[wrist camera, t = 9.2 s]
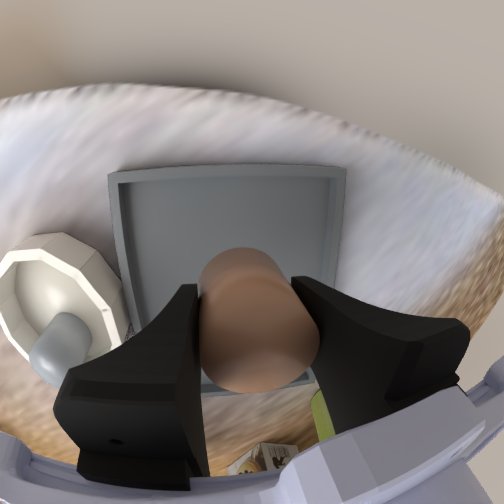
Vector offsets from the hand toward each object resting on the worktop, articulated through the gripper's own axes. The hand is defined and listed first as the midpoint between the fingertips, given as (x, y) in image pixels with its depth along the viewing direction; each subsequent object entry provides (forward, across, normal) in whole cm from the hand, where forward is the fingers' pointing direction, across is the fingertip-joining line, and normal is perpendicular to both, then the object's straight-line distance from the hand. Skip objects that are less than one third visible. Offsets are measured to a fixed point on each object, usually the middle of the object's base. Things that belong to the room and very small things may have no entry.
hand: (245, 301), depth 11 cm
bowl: (+7, +13, +4) cm, 15 cm away
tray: (+7, 0, +4) cm, 8 cm away
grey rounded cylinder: (+6, +13, +6) cm, 16 cm away
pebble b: (+1, 0, 0) cm, 1 cm away
